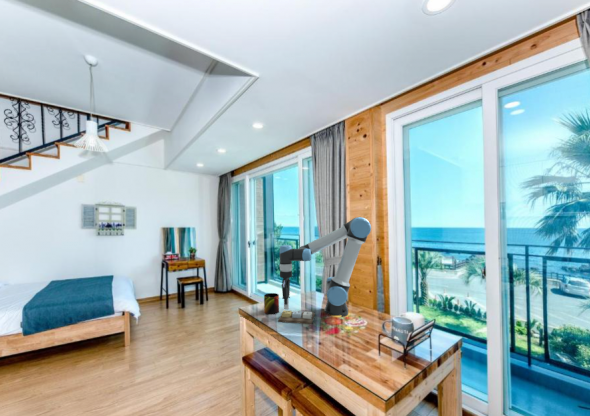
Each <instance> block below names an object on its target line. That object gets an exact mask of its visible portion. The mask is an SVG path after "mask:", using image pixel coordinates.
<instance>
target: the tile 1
mask: <svg viewBox="0 0 590 416" xmlns="http://www.w3.org/2000/svg"><path fill="white" fill-rule="evenodd" d="M292 312H293V311H292V310H286V309H283V311H282V313H281V315H282V317H289V318H290V317H291V315H292Z"/></svg>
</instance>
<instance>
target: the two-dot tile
mask: <svg viewBox="0 0 590 416" xmlns="http://www.w3.org/2000/svg"><path fill="white" fill-rule="evenodd" d="M292 312H293V313H292V318H301V317H302V312H303V311H300V310H293V311H292Z"/></svg>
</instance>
